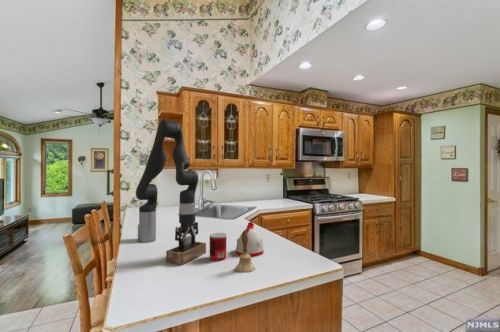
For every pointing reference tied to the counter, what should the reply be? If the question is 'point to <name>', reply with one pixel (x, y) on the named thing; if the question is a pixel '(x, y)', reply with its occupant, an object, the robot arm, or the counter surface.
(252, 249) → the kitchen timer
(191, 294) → the counter surface
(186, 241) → the bracket
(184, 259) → the open wooden box
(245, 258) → the hand bell
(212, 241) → the canned food
